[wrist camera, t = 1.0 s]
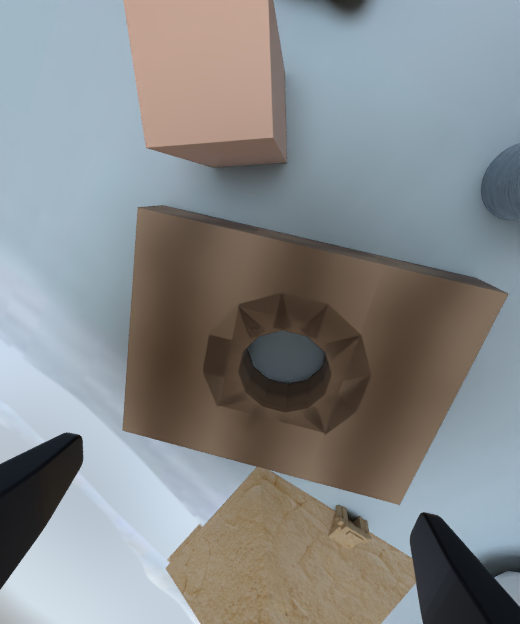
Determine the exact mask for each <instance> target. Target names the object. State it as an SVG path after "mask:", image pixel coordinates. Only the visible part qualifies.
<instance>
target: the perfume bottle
mask: <svg viewBox="0 0 520 624" xmlns="http://www.w3.org/2000/svg"><path fill="white" fill-rule="evenodd" d="M494 578H495V579H496V580H497V581H498V582H499V584H500V585H501V586H502V587H503V588H504V589H505V590H506V592H507V593H508V594H509V595H510V596H511V597H512V598H513V599H514V601H515V602H516V603H517V604H518V605H519V606H520V573H518V572H512V571H506V572H504V573H502V574H500V575H498V576H496V577H494Z"/></svg>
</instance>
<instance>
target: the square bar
mask: <svg viewBox="0 0 520 624" xmlns="http://www.w3.org/2000/svg"><path fill="white" fill-rule="evenodd" d="M124 7H125V13H126V20H127V26H128V33H129V39H130V46H131V52H132V59H133V66H134V72H135V79H136V85H137V92H138V98H139V105H140V111H141V118H142V124H143V131H144V137H145V144H146V148H148V149H152V150H155V151H159V152H162V153H165V154H169V155H172V156H176V157H179V158H182V159H186V160H189V161H192V162H196V163H199V164H203V165H206V166H209V167H213V168H215V167H230V166H244V165H258V164H273V163H287V147H286V103H285V70H284V64H283V58H282V52H281V46H280V39H279V33H278V27H277V21H276V14H275V8H274V2H273V0H124Z"/></svg>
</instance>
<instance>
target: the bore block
mask: <svg viewBox="0 0 520 624" xmlns="http://www.w3.org/2000/svg"><path fill="white" fill-rule="evenodd" d="M507 296H508V293H506V292H504V291H502V290H500V289H498V288H496V287H494V286H492V285H489V284H487V283H485V282H483V281H481V280H479V279H477V278H474V277H469V276H465V275H461V274H456V273H452V272H448V271H443V270H439V269H435V268H430V267H426V266H422V265H418V264H413V263H409V262H405V261H400V260H396V259H392V258H387V257H383V256H379V255H374V254H370V253H366V252H362V251H357V250H353V249H349V248H344V247H340V246H336V245H331V244H327V243H323V242H318V241H314V240H310V239H306V238H301V237H297V236H293V235H288V234H284V233H280V232H275V231H271V230H267V229H262V228H258V227H254V226H250V225H245V224H241V223H237V222H232V221H228V220H224V219H219V218H215V217H211V216H207V215H202V214H198V213H194V212H189V211H185V210H181V209H176V208H172V207H168V206H163V205H161V206H148V207H138V212H137V226H136V241H135V256H134V270H133V285H132V300H131V315H130V329H129V344H128V359H127V373H126V388H125V403H124V418H123V431H126V432H130V433H134V434H137V435H141V436H145V437H149V438H152V439H156V440H160V441H164V442H167V443H171V444H175V445H178V446H182V447H186V448H190V449H193V450H197V451H201V452H205V453H208V454H212V455H216V456H219V457H223V458H227V459H231V460H234V461H238V462H242V463H246V464H249V465H253V466H257V467H260V468H264V469H268V470H272V471H275V472H279V473H283V474H287V475H290V476H294V477H298V478H301V479H305V480H309V481H313V482H316V483H320V484H324V485H328V486H331V487H335V488H339V489H342V490H346V491H350V492H354V493H357V494H361V495H365V496H369V497H372V498H376V499H380V500H383V501H387V502H391V503H395V504H398V505H400V503H401V501H402V499H403V497H404V495H405V493H406V491H407V490H408V488H409V486H410V484H411V482H412V480H413V478H414V476H415V474H416V472H417V470H418V468H419V466H420V464H421V462H422V461H423V459H424V457H425V455H426V453H427V451H428V449H429V447H430V445H431V443H432V441H433V439H434V437H435V435H436V433H437V432H438V430H439V428H440V426H441V424H442V422H443V420H444V418H445V416H446V414H447V412H448V410H449V408H450V406H451V404H452V403H453V401H454V399H455V397H456V395H457V393H458V391H459V389H460V387H461V385H462V383H463V381H464V379H465V377H466V375H467V374H468V372H469V370H470V368H471V366H472V364H473V362H474V360H475V358H476V356H477V354H478V352H479V350H480V348H481V346H482V345H483V343H484V341H485V339H486V337H487V335H488V333H489V331H490V329H491V327H492V325H493V323H494V321H495V319H496V317H497V316H498V314H499V312H500V310H501V308H502V306H503V304H504V302H505V300H506V298H507ZM282 330H283V331H288V332H292V333H296V334H300V335H304V336H308V337H309V338H310V339H311V340H312V341H313V342H314V343H315V344H316V345H317V346H319V347H320V348H321V349H322V350H323V351H324V352H325V353H326V357H325V360H324V364H323V367H322V368H321V369H320V370H319V371H318V372H316V373H315V374H314V375H313V376H312V377H311V378H309V379H308V380H306V381H301V382H296V383H292V384H285V383H281V382H277V381H273V380H269V379H267V378H266V377H265V376H264V375H263V374H261V373H260V372H259V371H258V370H257V369H256V368H254V367H253V364H252V362H251V359H250V356H249V353H248V351H247V347H248V346H249V345H250V344H251V343H252V342H253V341H254V340H255V339H256V338H257V337H258V336H261V335H266V334H270V333H274V332H278V331H282Z"/></svg>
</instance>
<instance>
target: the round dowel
mask: <svg viewBox="0 0 520 624" xmlns="http://www.w3.org/2000/svg"><path fill="white" fill-rule="evenodd" d="M481 192H482V199H483V202H484V204H485V206H486V208H487V209H488V210H489V211H490V212H491V213H492V214H494V215H495V216H497V217H499V218H502V219H507V220H515V221H520V143H519V144H516V145H514V146H512V147H510V148H508V149H506V150H505V151H503V152H502V153H501V154H500V155H498V156H497V157H496V158H495V159H494V161H493V162H492V163H491V164H490V166H489V167H488V169H487V171H486V173H485V175H484V178H483V182H482V188H481Z"/></svg>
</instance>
